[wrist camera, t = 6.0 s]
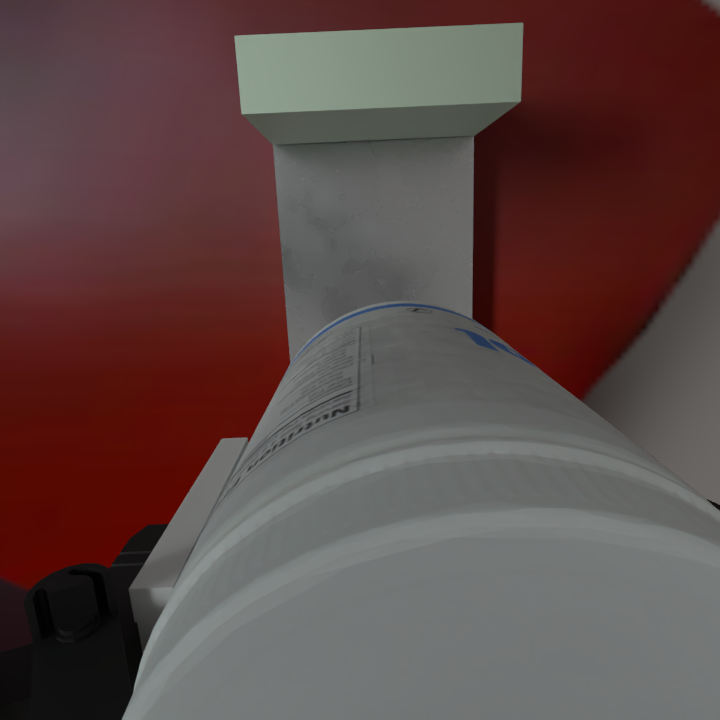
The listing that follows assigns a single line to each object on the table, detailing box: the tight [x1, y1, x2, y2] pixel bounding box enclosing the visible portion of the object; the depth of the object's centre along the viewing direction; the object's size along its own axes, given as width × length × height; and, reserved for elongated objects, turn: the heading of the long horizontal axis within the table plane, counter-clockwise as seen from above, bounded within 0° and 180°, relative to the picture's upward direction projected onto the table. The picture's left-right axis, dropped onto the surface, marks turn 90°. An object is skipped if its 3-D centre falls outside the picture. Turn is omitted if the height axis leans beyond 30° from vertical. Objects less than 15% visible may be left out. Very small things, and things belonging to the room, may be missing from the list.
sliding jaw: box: [235, 23, 523, 145], centre depth 26 cm, size 3×12×9 cm, turn 92°
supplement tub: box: [122, 301, 720, 720], centre depth 13 cm, size 10×10×15 cm
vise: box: [273, 136, 474, 364], centre depth 30 cm, size 26×12×11 cm, turn 3°
